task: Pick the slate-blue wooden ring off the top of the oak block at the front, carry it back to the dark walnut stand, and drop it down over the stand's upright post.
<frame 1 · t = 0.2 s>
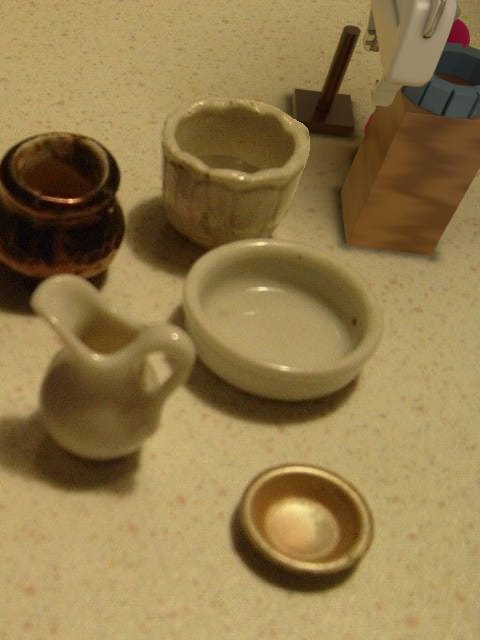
hand: (375, 73, 83), 18 cm above the counter, tool pointing down, fingers open, 8 cm apart
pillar: (383, 223, 96), on the counter
stand: (320, 117, 108), on the counter
pepper mill: (383, 164, 103), on the counter
ring: (447, 90, 83), point 17 cm above the counter, touching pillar
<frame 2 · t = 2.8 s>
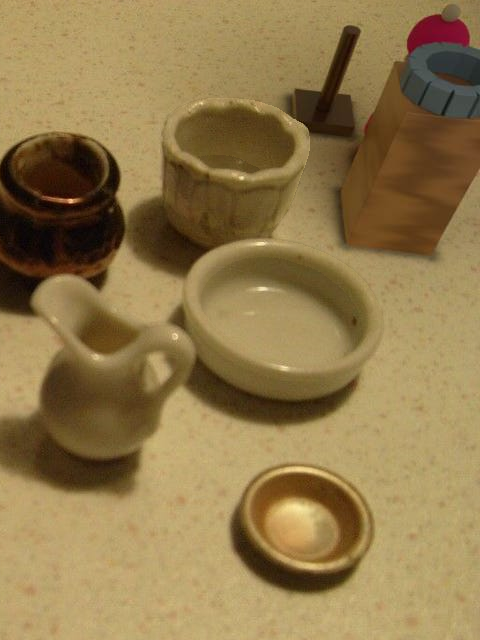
nothing on the counter moved.
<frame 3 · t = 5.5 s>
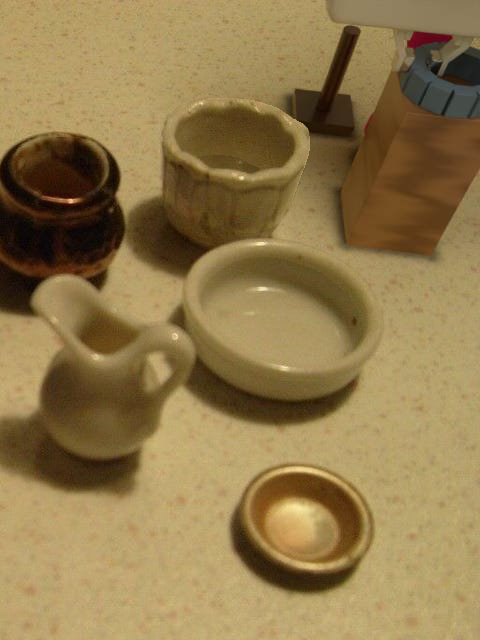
hand: (415, 70, 82), 19 cm above the counter, tool pointing down, fingers closed on ring, 2 cm apart
ring: (447, 90, 83), point 17 cm above the counter, touching gripper, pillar
everything else where it was.
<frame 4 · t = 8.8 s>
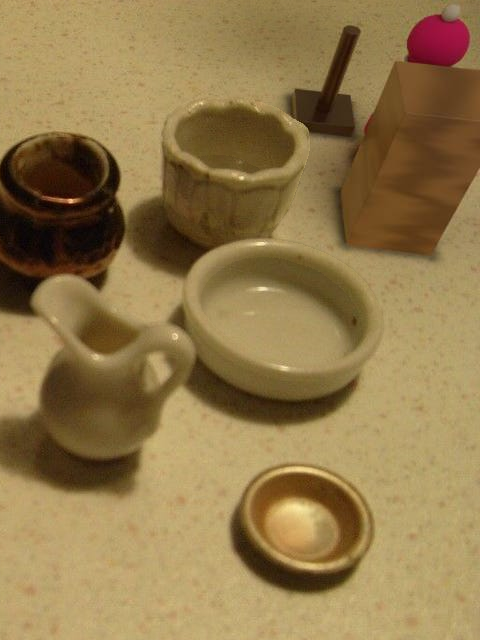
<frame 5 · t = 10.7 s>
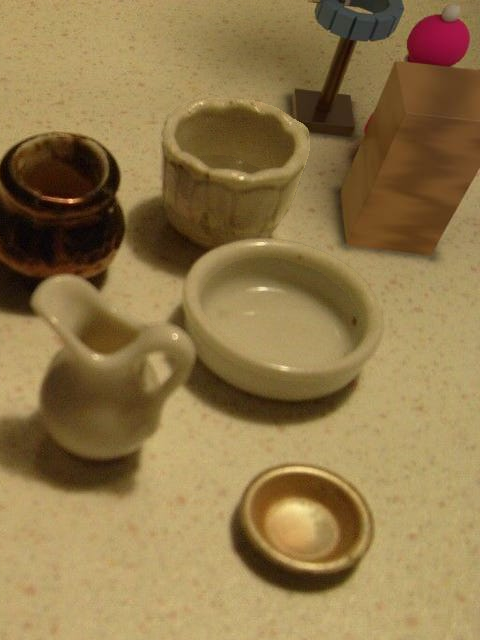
hand: (326, 2, 97), 15 cm above the counter, tool pointing down, fingers closed on ring, 2 cm apart
ring: (354, 20, 98), point 13 cm above the counter, touching gripper
everything else where it was.
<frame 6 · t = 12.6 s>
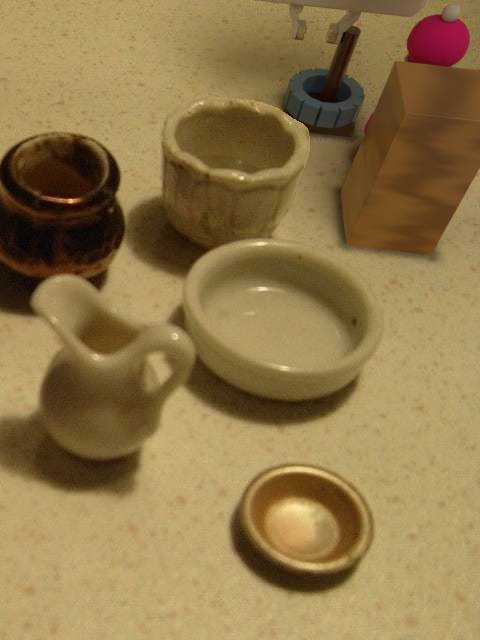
hand: (314, 39, 101), 10 cm above the counter, tool pointing down, fingers open, 3 cm apart
ring: (320, 106, 107), point 1 cm above the counter, touching stand
everything else where it was.
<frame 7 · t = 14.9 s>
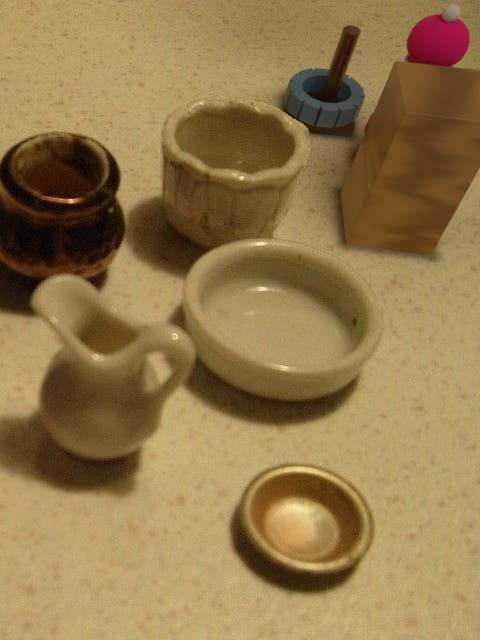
nothing on the counter moved.
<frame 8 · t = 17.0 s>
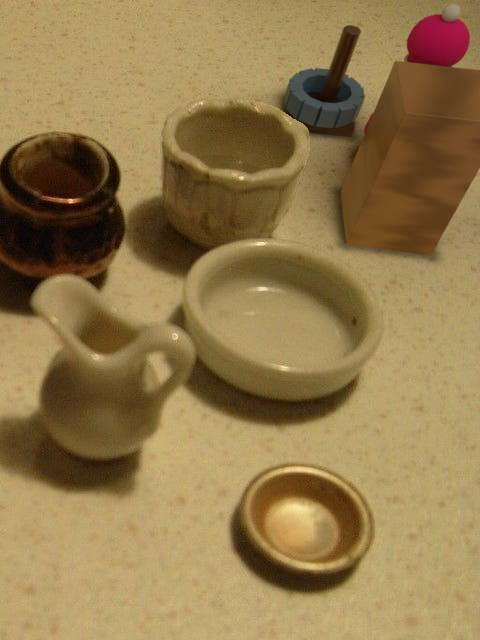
nothing on the counter moved.
at the end: ring 0.4 cm off-centre on the stand, point 1.5 cm above the stand's base; the gripper is holding nothing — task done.
